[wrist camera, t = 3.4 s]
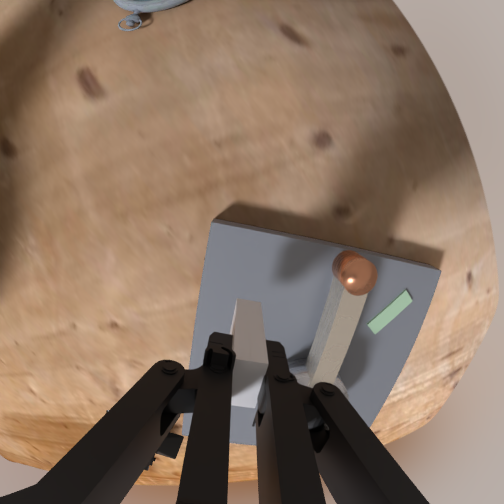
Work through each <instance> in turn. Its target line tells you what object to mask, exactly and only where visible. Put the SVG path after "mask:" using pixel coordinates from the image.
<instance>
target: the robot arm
mask: <svg viewBox="0 0 504 504" xmlns="http://www.w3.org/2000/svg"><path fill="white" fill-rule="evenodd" d="M256 404H258V408H257V411H256V415H255V418H254V421H253V424H252V426H253V427H254V426H255V423H256V445H257V468H258V491H259V504H326V502H325V497H324V493H323V488H322V484H321V480H320V475H321V476H322V478H323V480H324V482H325V484H326V486H327V487H328V489H329V491H330V493H331V495H332V496H333V498H334V500H335V502H336V503H337V504H429V502H428V501H427V500H426V499H425V497H424V496H423V495H422V494H421V492H420V491H419V490H418V489H417V487H416V486H415V485H414V484H413V482H412V481H411V480H410V479H409V477H408V476H407V475H406V474H405V472H404V471H403V470H402V469H401V467H400V466H399V465H398V463H397V462H396V461H395V460H394V458H393V457H392V456H391V455H390V453H389V452H388V451H387V450H386V448H385V447H384V446H383V444H382V443H381V442H380V441H379V439H378V438H377V437H376V436H375V434H374V433H373V432H372V430H371V429H370V428H369V427H368V425H367V424H366V423H365V421H364V420H363V419H362V418H361V416H360V415H359V414H358V412H357V411H356V410H355V409H354V407H353V406H352V405H351V403H350V402H349V401H348V399H347V398H346V397H345V396H344V394H343V393H342V392H341V390H340V389H339V388H338V387H337V386H335V385H333V384H331V383H327V382H319V383H316V384H315V385H314V387H313V388H311V387H307V386H304V385H301V384H299V383H298V382H297V379H296V377H295V375H293V374H292V373H291V372H290V370H289V366H288V361H287V357H286V352H285V348H284V346H283V345H282V344H281V343H280V342H278V341H271V340H266V339H265V331H264V323H263V315H262V307H261V302H256V301H250V300H244V299H239V298H237V300H236V305H235V310H234V315H233V320H232V325H231V330H230V334H225V333H219V332H213V333H212V334H211V335H210V336H209V340H208V345H207V348H206V349H205V353H204V359H203V365H202V366H201V367H199V368H196V369H190V370H185V369H184V367H183V366H182V365H181V364H180V363H178V362H176V361H172V360H161V361H158V362H157V363H155V364H154V365H153V366H152V367H151V368H150V369H149V370H148V371H147V372H146V373H145V374H144V375H143V377H142V378H141V379H140V380H139V381H138V382H137V383H136V384H135V385H134V386H133V387H132V388H131V389H130V390H129V391H128V392H127V393H126V394H125V395H124V396H123V397H122V398H121V399H120V400H119V401H118V402H117V403H116V404H115V405H114V406H113V407H112V408H111V409H110V410H109V411H108V412H107V413H106V414H105V415H104V416H103V417H102V418H101V419H100V420H99V421H98V422H97V423H96V424H95V425H94V427H93V428H92V429H91V430H90V431H89V432H88V433H87V434H86V435H85V436H84V437H83V438H82V439H81V440H80V441H79V442H78V443H77V444H76V445H75V446H74V447H73V448H72V449H71V450H70V451H69V452H68V453H67V454H66V455H65V456H64V457H63V458H62V459H61V460H60V461H59V462H58V463H57V464H56V465H55V466H54V467H53V468H52V469H51V470H50V471H49V472H48V473H47V474H46V475H45V476H44V477H43V478H42V479H41V480H40V481H39V482H38V483H37V484H35V485H33V486H30V487H28V488H25V489H23V490H20V491H17V492H14V493H11V494H9V495H6V496H3V497H0V504H120V503H121V502H122V500H123V499H124V497H125V496H126V494H127V493H128V492H129V490H130V489H131V488H132V486H133V485H134V483H135V482H136V480H137V479H138V477H139V476H140V475H141V473H142V472H143V470H144V469H145V467H146V466H147V464H148V463H149V461H150V460H151V459H152V457H153V456H154V454H155V453H156V451H157V450H158V448H159V447H160V445H161V444H162V442H163V441H164V439H165V438H166V436H167V435H168V433H169V432H170V430H171V429H172V427H173V426H174V424H175V423H176V421H177V420H178V418H179V417H180V414H181V413H193V415H192V420H191V425H190V431H189V436H188V441H187V446H186V452H185V457H184V463H183V468H182V474H181V479H180V485H179V491H178V497H177V502H176V504H227V493H228V466H229V442H230V420H231V405H233V406H240V407H248V408H255V407H256ZM327 426H328V427H327ZM319 473H320V475H319Z"/></svg>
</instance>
